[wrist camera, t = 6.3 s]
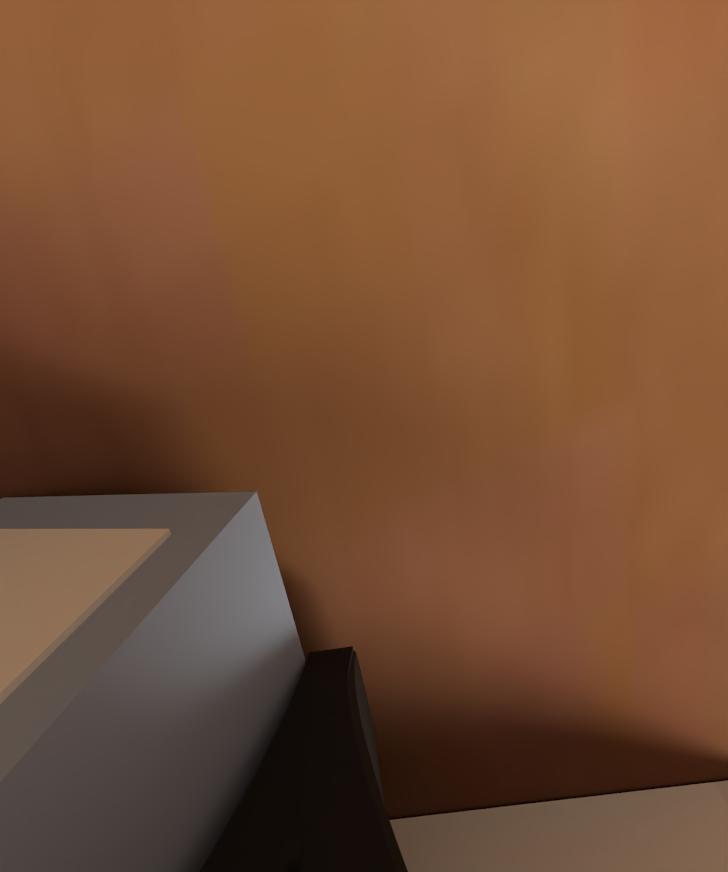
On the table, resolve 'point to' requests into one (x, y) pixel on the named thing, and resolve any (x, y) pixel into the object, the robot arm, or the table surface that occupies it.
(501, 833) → the shelf wall
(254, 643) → the boxed book
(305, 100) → the table surface
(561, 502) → the table surface
